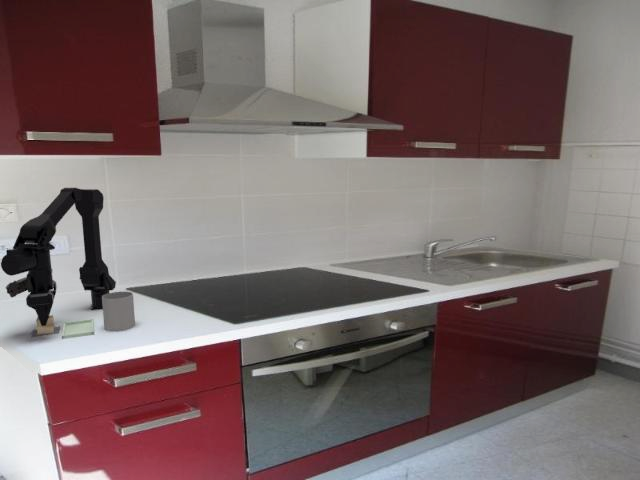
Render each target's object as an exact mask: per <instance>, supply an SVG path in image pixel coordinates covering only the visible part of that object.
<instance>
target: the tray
mask: <svg viewBox="0 0 640 480" xmlns="http://www.w3.org/2000/svg"><path fill="white" fill-rule="evenodd" d="M93 335H95V321H94V318H91V319H83V320H81V319H80V320H74V321H67V322H66V321H65V322H63V327H62V334H61V339H62V340H64V339H73V338H78V337H80V338H81V337H86V336H93Z"/></svg>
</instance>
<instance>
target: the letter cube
mask: <svg viewBox="0 0 640 480" xmlns="http://www.w3.org/2000/svg"><path fill="white" fill-rule="evenodd" d="M35 321H36V323H35V324H36V329H37V334H38V335H39V334H46V333H53V332H54V327H55V321H54V315H53V314H52V315H51V314H49V318H48V321H47V324H46V326H41V323H40V321H39V318H38V316H37V317H36V319H35Z"/></svg>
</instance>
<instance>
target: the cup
mask: <svg viewBox="0 0 640 480" xmlns="http://www.w3.org/2000/svg"><path fill="white" fill-rule="evenodd" d="M134 303H135V301H134V293H133V292H132V291H113V292H110V293H108V294H105V295H103V296H102V305H103V309H102V317H103V327H104V331H107V332H110V333H111V332H112V333H113V332H123V331H128V330H132V329H133V328H135V326H136V315H135V304H134Z"/></svg>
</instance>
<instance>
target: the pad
mask: <svg viewBox="0 0 640 480" xmlns="http://www.w3.org/2000/svg"><path fill="white" fill-rule="evenodd" d="M60 331H61V325H59V326H58V325H57V326H54V332H53V333H46V334H39V335H38V334H37V328H36V329H33V330H32V333H31V335H30V337H31V338H37V337H43V336H50V335H51V336H52V335H57V334H60Z"/></svg>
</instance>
